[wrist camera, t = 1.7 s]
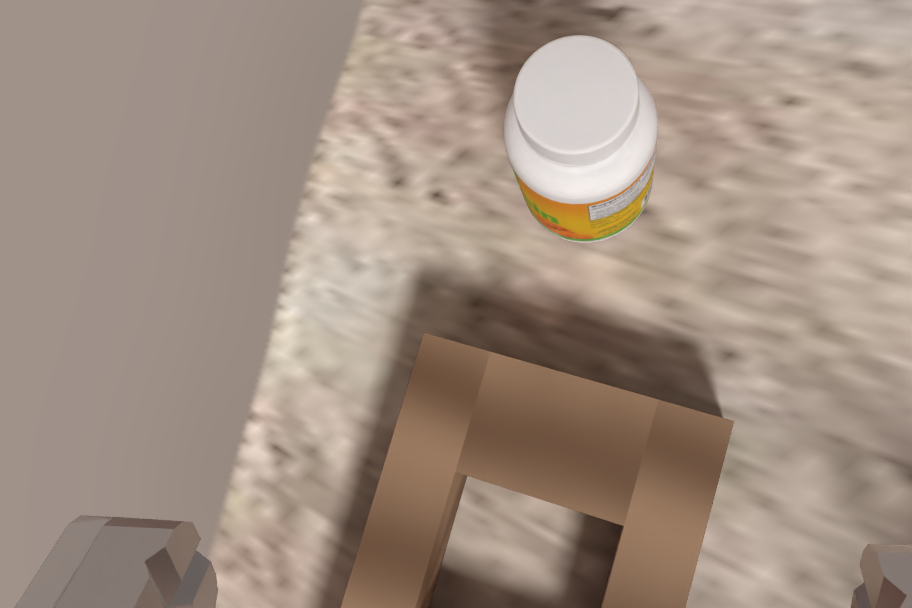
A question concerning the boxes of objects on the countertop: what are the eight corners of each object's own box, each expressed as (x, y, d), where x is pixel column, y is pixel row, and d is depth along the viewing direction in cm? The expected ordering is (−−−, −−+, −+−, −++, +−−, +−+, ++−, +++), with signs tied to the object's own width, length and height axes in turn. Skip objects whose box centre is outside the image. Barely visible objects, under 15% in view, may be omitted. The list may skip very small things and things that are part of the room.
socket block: (439, 341, 37) (424, 332, 34) (724, 423, 34) (734, 421, 31) (326, 718, 35) (299, 742, 32) (616, 835, 32) (615, 873, 30)
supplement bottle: (500, 167, 38) (459, 74, 28) (606, 99, 37) (600, -19, 28) (566, 269, 36) (547, 207, 27) (677, 200, 36) (696, 112, 26)
